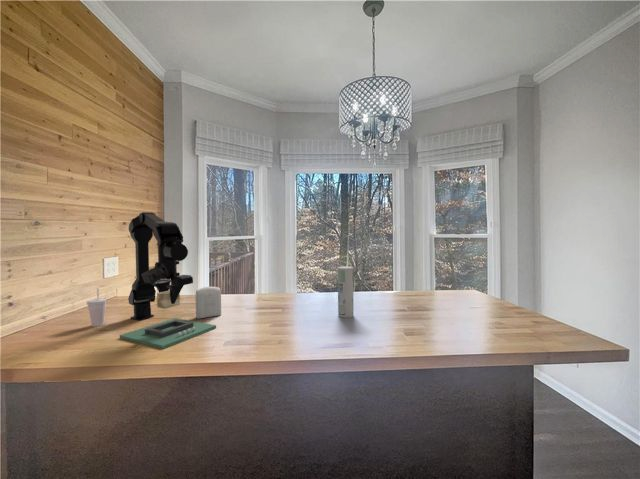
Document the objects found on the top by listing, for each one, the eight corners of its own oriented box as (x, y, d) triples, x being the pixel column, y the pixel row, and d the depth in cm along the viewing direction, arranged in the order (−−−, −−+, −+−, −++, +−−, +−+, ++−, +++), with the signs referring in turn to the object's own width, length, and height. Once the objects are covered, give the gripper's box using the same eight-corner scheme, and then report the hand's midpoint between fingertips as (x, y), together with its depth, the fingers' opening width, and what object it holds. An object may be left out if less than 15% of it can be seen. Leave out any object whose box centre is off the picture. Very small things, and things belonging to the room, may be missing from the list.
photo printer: (219, 313, 139) (219, 284, 138) (222, 315, 135) (222, 286, 134) (194, 317, 133) (193, 287, 132) (197, 319, 129) (196, 289, 129)
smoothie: (111, 323, 125) (110, 288, 124) (94, 328, 119) (92, 291, 119) (101, 321, 128) (99, 286, 127) (83, 326, 122) (82, 289, 121)
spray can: (356, 316, 131) (356, 267, 130) (342, 318, 129) (341, 268, 128) (349, 312, 137) (349, 265, 136) (335, 314, 135) (335, 266, 134)
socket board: (119, 338, 109) (119, 330, 109) (175, 320, 129) (175, 314, 128) (163, 349, 99) (162, 341, 99) (216, 328, 119) (216, 321, 118)
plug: (157, 307, 112) (156, 293, 111) (174, 303, 118) (173, 289, 117) (165, 308, 110) (164, 294, 110) (181, 304, 116) (181, 290, 116)
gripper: (128, 260, 110) (129, 305, 110) (164, 262, 101) (166, 311, 102) (157, 256, 120) (159, 298, 120) (193, 259, 111) (194, 303, 112)
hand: (168, 303), depth 113 cm, fingers closed on plug, 4 cm apart
